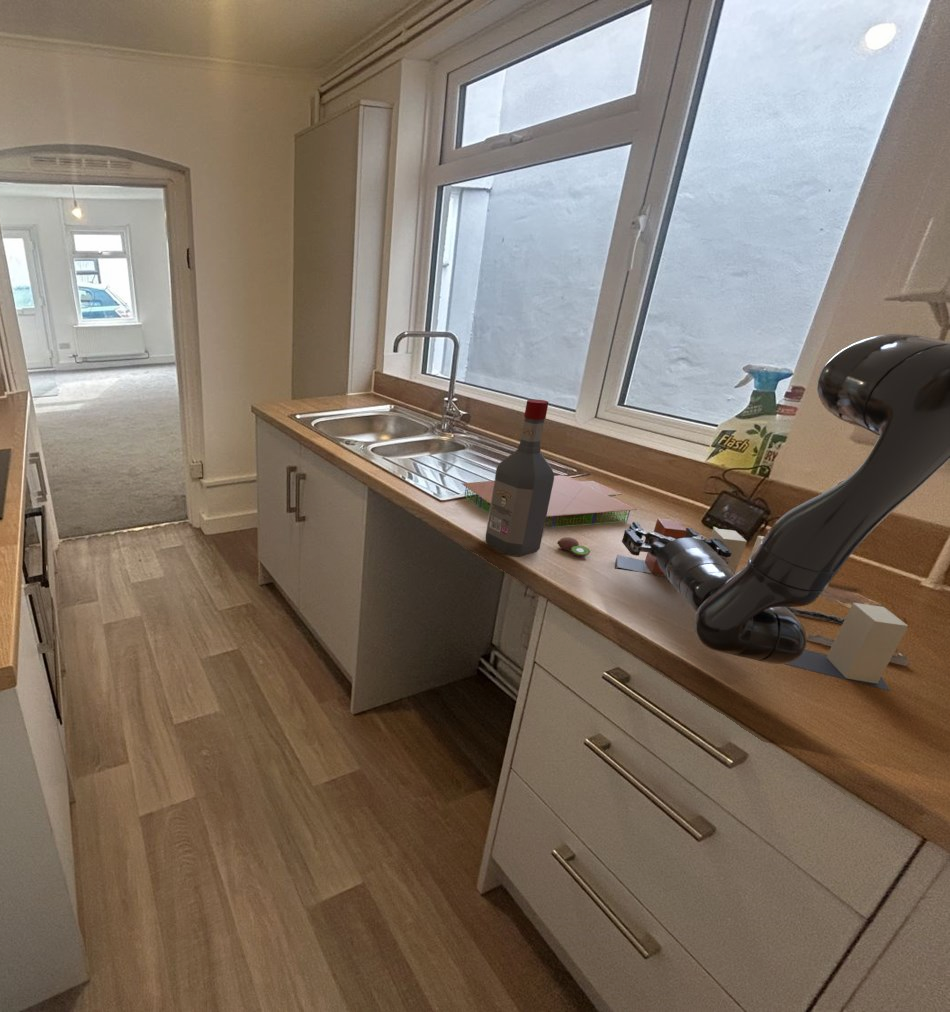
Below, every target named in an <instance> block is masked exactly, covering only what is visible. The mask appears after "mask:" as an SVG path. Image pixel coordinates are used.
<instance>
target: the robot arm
mask: <svg viewBox="0 0 950 1012" xmlns="http://www.w3.org/2000/svg"><path fill="white" fill-rule="evenodd" d="M816 390H817V395H818V397H819V400H820V402H821V404H822V405H823V407H824V408H825V409H826V410H827V411H828V413H831V414H832V415H833V416H834V417H836V418H837V419H839V420H841V421H843V422H845V423H848V424H850V425H851V426H854V427H857V428H859V429H862V430H864V431H866V432H869V433H872V434H874V435H877V436H878V438H877V440H876V441H875V444H874V445H873V448H872V449H871V451H870V453H869V454H868V456H867V457H866V458H865V460H864V461H863V462H862V464H861V465H859V467H858V468H857V469H856V470H854V472H853V473H852V474H850V475H849V476H848V477H847V478H846V479H844V480H843V481H841V482H840V483H838V484H837V485H835V486H833V487H831V488H830V489H828V490H826V491H825V492H823V493H820V494H818V495H817V496H815V497H813V498H810V499H808V500H806V501H804V502H803V503H800V504H798V505H797V506H795V507H793V508H792V509H789V510H788V511H787V512H786V513H784V514H783V515H782V516H780V517H779V518H778V519H777V520H776V521H775V522H774V523H773V525H771V527H770V528H769V529H768V530H767V532H766V533H765V535H763V536H764V538H763V539H762V541H761V542H760V544H759V546H758V547H757V549H756V550H755V552H754V554H753V555H752V557H751V559H750V560H749V559H748V561H749V562H748V561H747V563H746V565H745V566H744V567H743V568H742V569H741V570H739V571H738V572H736V573H734V572H733V571H732V569H731V568H730V566H729V565H728V563H729V560H730V557H731V554H732V552H731V551H730V550H729V549H728V548H727V547H726V546H725V545H724V544H723V543H722V542H721V541H720V540H719V539H716V538H712V539H711V540H709V539H707V537H706V536H704V535H702V534H699V532H697V531H696V530H694V529H693V528H692V527H685V529H686V530H687V532H686V535H685V538H679V539H675V538H672V537H666V536H664V535H661V534H659V533H656V532H654V531H650V532H649V531H646V530H644V528H643V527H642V525H641V524H640V523H639V522H636V521H633V522H632V523H630V524H629V526H628V528H625V529H624V531H623V532H624V533H623V536H622V539H621V543H622V544H623V546H624V547H625V548H626V549H627V551H628V552H629V553H630V554H631V555H632V556H640V554H641V553H648V552H649V553H650V555H652V556H654V557H655V558H656V559H657V562H658V565H659V568H660V569H661V571H662V572H663V573H664V575H665V576H666V577H667V578H666V579H667V580H668V582H669V583H670V584H671V585H672V587H673V588H674V589H675V590H676V592H677V593H679V595H681V596H682V597H683V598H684V599H685V601H686V602H687V604H688V605H689V606H690V608H692V609H693V611H694V612H695V615H694V618H693V630H694V634H695V636H696V637H697V639H698V641H699V642H700V643H701V644H702V645H703V646H704V647H705V648H708V649H709V650H712V651H715V652H719V653H722V654H726V655H731V656H736V657H739V658H745V659H748V660H753V661H757V662H762V663H766V664H772V665H773V664H774V665H786V664H785V663H789V662H792V661H794V660H796V659H797V658H799V657H800V656H801V655H802V653H803V652H804V650H806V647H807V641H808V640H807V638H808V637H807V632H806V630H805V627H804V625H803V624H802V621H801V620H800V619H799V618H798V616H797V615H796V614H793V613H792V612H791V611H790V610H789V609H787V608H786V607H792V608H799V607H800V608H801V607H806V606H810V605H811V604H813V603H815V602H816V601H817V600H818V599H819V598H820V597H819V596H820V595H821V594H822V592H823V591H824V590H825V588H826V587H827V586H829V585H830V583H831V581H832V580H833V579H834V578H835V576H836V575H837V574H838V573H839V571H840V570H841V568H843V566H844V565H845V564H846V562H847V560H848V559H849V557H850V556H851V555H852V554H853V553H854V551H856V550H857V548H858V546H859V545H860V544H861V543H862V542H863V541H864V540H865V539H866V538H867V536H868V535H870V534H871V532H872V531H874V529H875V528H876V527H877V526H879V524H881V523H882V522H883V521H884V520H885V519H886V518H887V517H888V516H889V515H890V514H891V513H893V511H895V510H896V509H897V508H898V507H900V505H902V504H903V503H904V502H905V501H906V500H907V499H909V498H910V497H911V496H912V495H913V494H914V493H915V492H916V491H918V489H919V488H921V487H922V486H923V485H924V484H925V483H926V482H927V481H928V480H929V479H930V478H931V477H933V476H934V475H935V474H936V473H937V472H938V471H939V470H940V469H941V468H942V467H943V466H944V465H945V464H947V462H948V461H950V341H946V340H943V339H938V338H933V337H929V336H925V335H920V334H914V333H912V334H911V333H887V334H881V335H876V336H872V337H869V338H865V339H861V340H860V341H857V342H855V343H852V344H850V345H848V346H847V347H845V348H843V349H841V350H840V351H839V352H837V353H836V354H835V355H834V356H832V357H831V358H830V359H829V360H828V361H827V362H826V363H825V365H824V366H823V368H822V369H821V370H820V373H819V376H818V379H817V388H816ZM643 537H645V539H643ZM655 538H656V539H658V540H657V541H655V542H654V539H655Z"/></svg>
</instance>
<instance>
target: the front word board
mask: <svg viewBox="0 0 950 1012" xmlns="http://www.w3.org/2000/svg"><path fill="white" fill-rule="evenodd" d="M844 618H845V620H844V622H843V624H841V626H840V628H839V630H838V633H837V635H836V637H835V639H834V640H835V641H834V643H833V645H832V647H831V646H830V649H829V651H828V654H825V653H821V652H818V651H817V652H816V651H813V650H809V649H805V650H804V652H803V653H802V655H801V656H800V657H799V658H797V659H796V660H794V661H792V662H789V663H785V664H784V665H785V666H786V665H787V666H790V667H793V668H797V669H803V670H805V671H809V672H814V673H817V674H822V675H825V676H829V677H833V678H837V679H841V680H845V681H849V682H853V683H857V684H861V685H864V686H869V687H872V688H876V689H880V690H883V691H888V692H891V689H890V687H889V686H888V684H887V682H886V681H885V680H884V679H883V677H882V676H883V674H884V672H885V671H886V669H887V667H888V665H889V664H890V662H889V661H890V659H891V658H892V656H893V655H894V654H895V652H896V650H897V648H898V647H899V644H900V643H901V641H902V639H903V638H904V635H905V634H906V632H907V630H908V628H909V625H908V624H907V623H906V622H904V621H903V620H901V619H900V618H899V617H898V616H897V615H895V614H894V613H892V612H891V611H890V610H889V609H888V608H886V607H885V606H882V605H881V606H873V605H866V604H859V603H852V606H851V608H849V609H848V612H847V614H846V616H845V617H844Z"/></svg>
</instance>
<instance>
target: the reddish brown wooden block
mask: <svg viewBox="0 0 950 1012" xmlns="http://www.w3.org/2000/svg"><path fill="white" fill-rule="evenodd" d="M653 532H656V533H659V534H661V535H664V536H666V537H672V538H675V539H679V538H685V535H686V532H687V530H686V527H685V526H684V525H683V524H682V523H681V522H680V521H679V520H677V519H665V518H657V520H656V523H655V526H654V529H653ZM657 540H658V539H656V538H655V539H654V542H655V541H657ZM646 553H647V554H646V557H645V559H644V560H645V563H646V565H647V566H648V568H649V570H650V571H651V573H654V574H661V575H664V573H663V572H662V571H661V569H660V568H659V565H658V562H657V559H656V558H655V557H654V556H652V555H650V553H649V552H646Z"/></svg>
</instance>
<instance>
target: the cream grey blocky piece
mask: <svg viewBox="0 0 950 1012" xmlns="http://www.w3.org/2000/svg"><path fill="white" fill-rule="evenodd" d="M764 536H765V535H757V537H756V539H755V542H754V545H753V548H752V550H751V552H750V555H749V557H748V561H747V563H748V562H749V560H750V559H751V557H752V555H753V554H754V552H755V550H756V549H757V547H758V546H759V544H760V542H761V541H762V539H763V538H764ZM712 538H716V539H719V540H720V541H721V542H722V543H723V544H724V545H725V546H726V547H727V548H728V549H729V550H730V551H731V552H732V554H731V557H730V560H729V563H728V565H729V566H730V568H731V569H732V571H733V572H734V573H735V574H737V570H738V567H739V565H740V561H741V559H742V557H743V553H744V551H745V548H746V546H747V543H748V541H747V540H746V539H745V538H744V537H743V536H742V535H741V534H740V533H738V531H736V530H733V529H725V528H724V529H723V528H714V527H713V528H712V531H711V534H710V537H709V538H708V540H711V539H712ZM614 562H615V564H614V565H615V566H614V567H615V568H614V569H615V570H620V571H627V572H628V571H629V572H635V573H643V574H646V575H653V576H656V577H661V578H666V579H667V577H666V576H665V575H661V574H654V573H651V571H650V570H649V568H648V566H647V565H646V563H645V559H639V558H635V557H634V558H633V557H629V556H624V555H619V554H617V555H616V558H615V561H614Z"/></svg>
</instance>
